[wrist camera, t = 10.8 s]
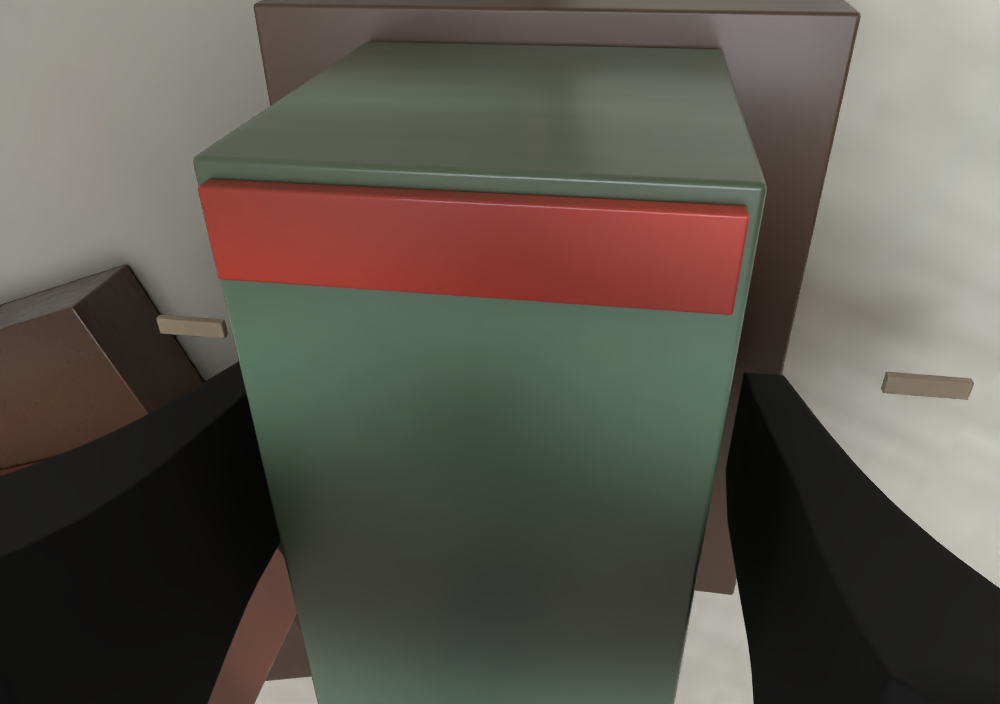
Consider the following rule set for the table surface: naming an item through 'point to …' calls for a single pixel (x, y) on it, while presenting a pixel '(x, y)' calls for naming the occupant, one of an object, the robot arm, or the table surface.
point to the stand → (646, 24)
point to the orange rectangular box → (252, 634)
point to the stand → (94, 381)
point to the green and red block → (491, 358)
